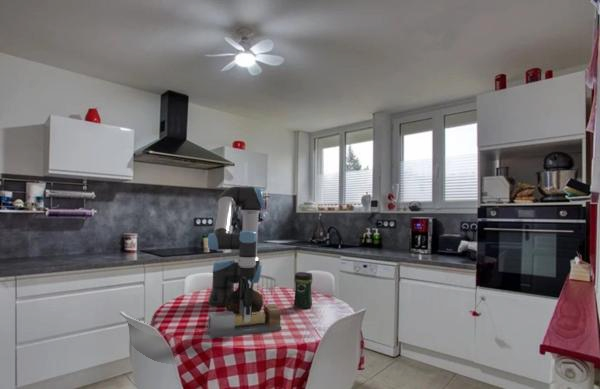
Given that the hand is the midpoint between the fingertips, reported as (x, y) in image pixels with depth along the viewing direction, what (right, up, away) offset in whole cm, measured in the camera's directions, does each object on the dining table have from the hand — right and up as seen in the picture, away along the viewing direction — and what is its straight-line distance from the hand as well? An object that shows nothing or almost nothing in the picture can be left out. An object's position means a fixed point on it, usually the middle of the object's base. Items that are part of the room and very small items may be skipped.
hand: (245, 319), depth 149 cm
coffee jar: (+26, -7, +36) cm, 45 cm away
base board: (0, -4, 0) cm, 4 cm away
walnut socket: (+11, -3, +5) cm, 13 cm away
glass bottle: (-4, -5, +18) cm, 19 cm away
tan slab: (-2, -2, -1) cm, 3 cm away
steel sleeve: (-10, -2, -4) cm, 11 cm away
